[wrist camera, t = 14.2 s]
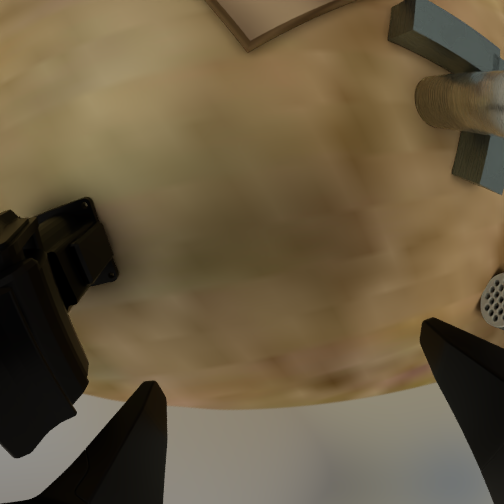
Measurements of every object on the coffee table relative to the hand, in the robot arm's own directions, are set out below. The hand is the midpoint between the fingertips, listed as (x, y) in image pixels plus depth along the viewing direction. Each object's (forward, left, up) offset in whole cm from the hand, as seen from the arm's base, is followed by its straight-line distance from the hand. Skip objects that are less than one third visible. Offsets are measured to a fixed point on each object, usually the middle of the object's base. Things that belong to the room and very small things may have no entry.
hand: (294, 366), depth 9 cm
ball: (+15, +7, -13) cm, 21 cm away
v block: (+18, +8, -13) cm, 23 cm away
